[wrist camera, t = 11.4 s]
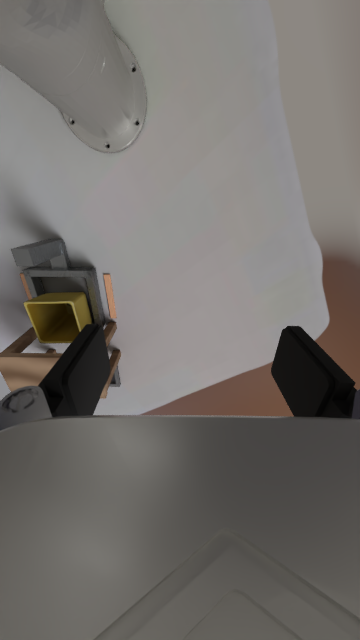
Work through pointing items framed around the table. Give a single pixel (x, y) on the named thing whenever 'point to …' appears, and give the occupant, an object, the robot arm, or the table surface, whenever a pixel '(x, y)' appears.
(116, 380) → the frames
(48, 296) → the flower pot
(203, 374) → the table surface
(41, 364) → the small wooden table
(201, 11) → the table surface
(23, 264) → the grey tray with upright
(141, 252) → the table surface
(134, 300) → the table surface
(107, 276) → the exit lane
